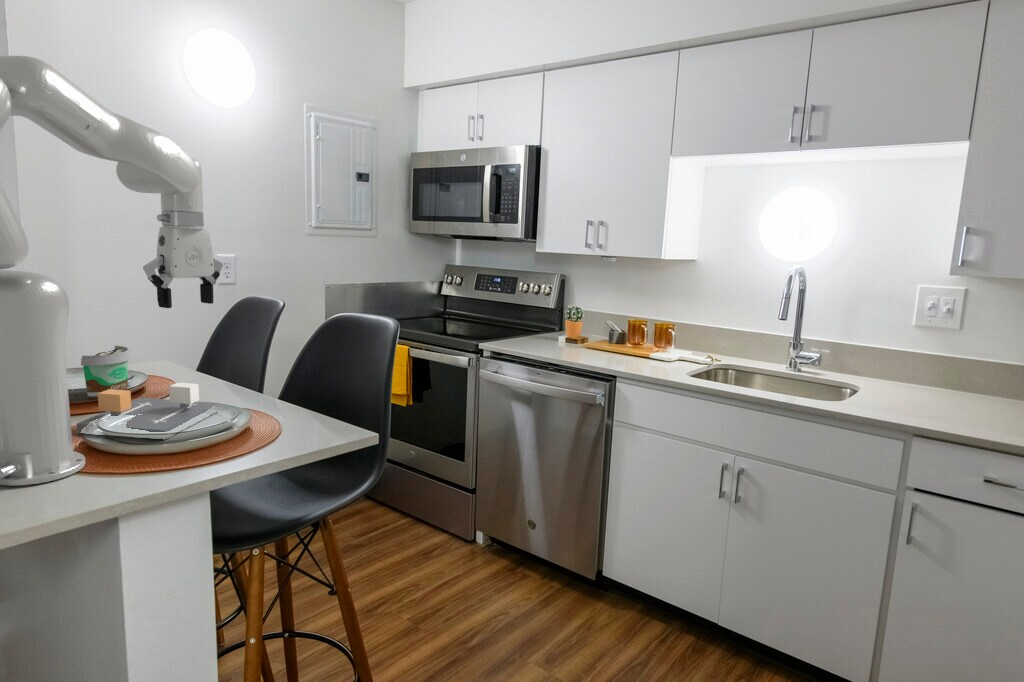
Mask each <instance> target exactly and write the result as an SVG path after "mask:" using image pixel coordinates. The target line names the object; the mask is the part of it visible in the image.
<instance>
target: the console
mask: <svg viewBox="0 0 1024 682" xmlns="http://www.w3.org/2000/svg"><path fill="white" fill-rule="evenodd" d="M198 402H199V403H193V404H197V405H192V406H189V407H187V408H180V403H170V399H162V398H151V397H139V398H136V399H133V400H131V408H130V409H128V410H125V411H123V412H121V415H134V416H135V415H136V416H135V417H133V418H132V419H131V420H129V421H127V424H126V427H127V428H131V429H139V430H146V431H149V432H167V431H170V430H172V429H174V428H176V427H178V426H179V425H182V424H183V423H185V422H187V421H189V420H190V419H192V418H194V417H196V416H198V415H200V414H202V413H204V412H206V411H207V410H208V409H210V408H211V407H212V406H214V405H216V404H217V405H218V403H215V402H206V401H205V402H203V401H198ZM107 414H111V413H110V411H103V412H102V413H99V414H97V415H93V416H91V417H89V418H86V419H84V420H82V421H79V422H76V429H77V430H76V431H77V435H78V434H79V435H81V434H80V432H81V430H82V429H83V428H84V427H86V426H87V425H88V424H89V423H90V422H92V421H94V420H96V419H99V418H101V417H103V416H105V415H107ZM138 414H140V415H138ZM141 414H142V415H141Z"/></svg>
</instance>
